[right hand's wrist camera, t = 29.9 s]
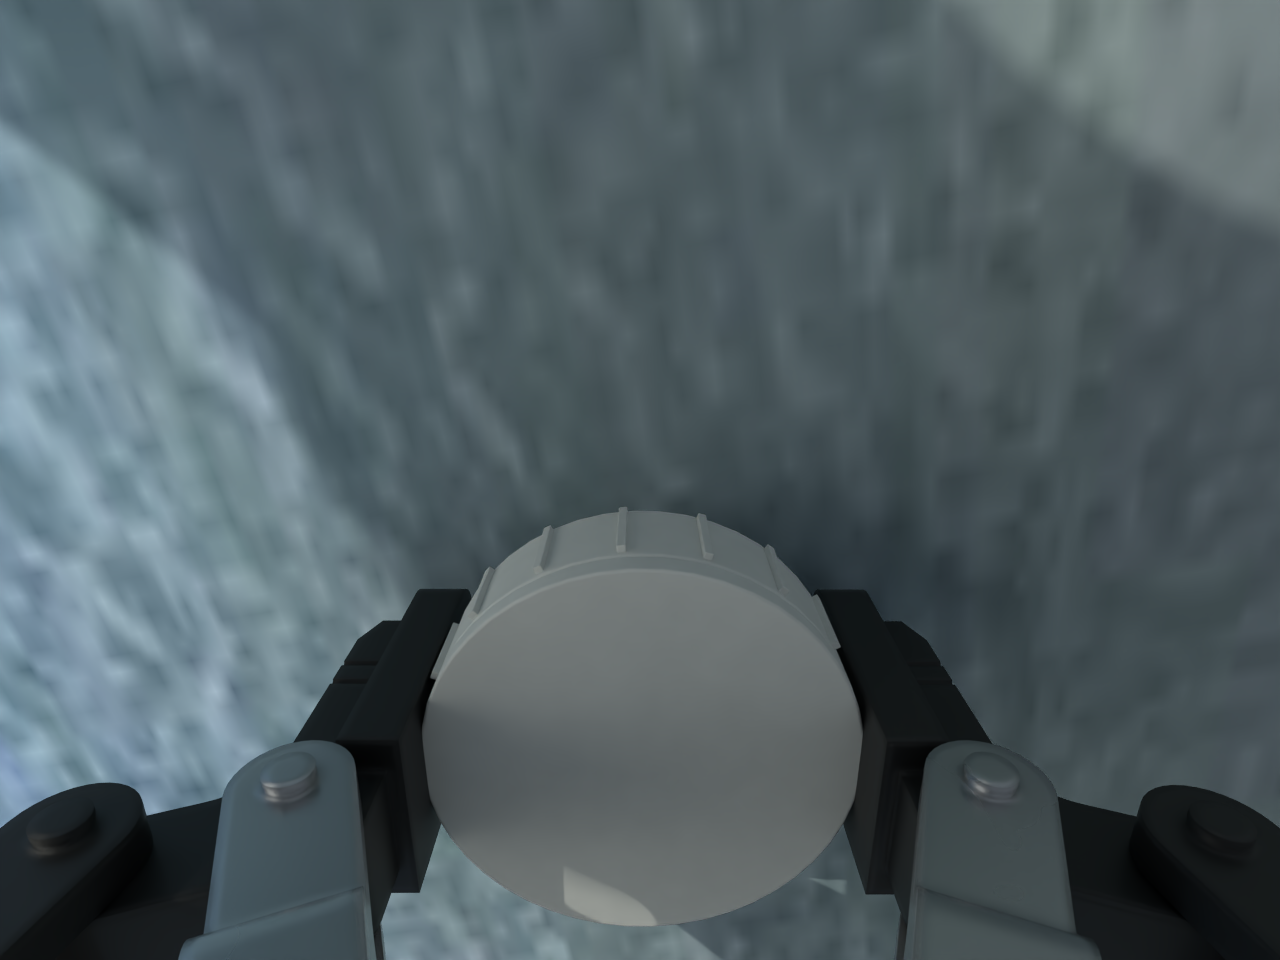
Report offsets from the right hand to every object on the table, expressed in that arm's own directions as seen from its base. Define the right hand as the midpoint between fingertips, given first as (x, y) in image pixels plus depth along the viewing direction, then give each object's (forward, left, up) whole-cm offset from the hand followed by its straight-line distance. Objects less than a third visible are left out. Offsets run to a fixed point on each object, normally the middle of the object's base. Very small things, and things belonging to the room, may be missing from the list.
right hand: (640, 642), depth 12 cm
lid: (0, 0, +3) cm, 3 cm away
